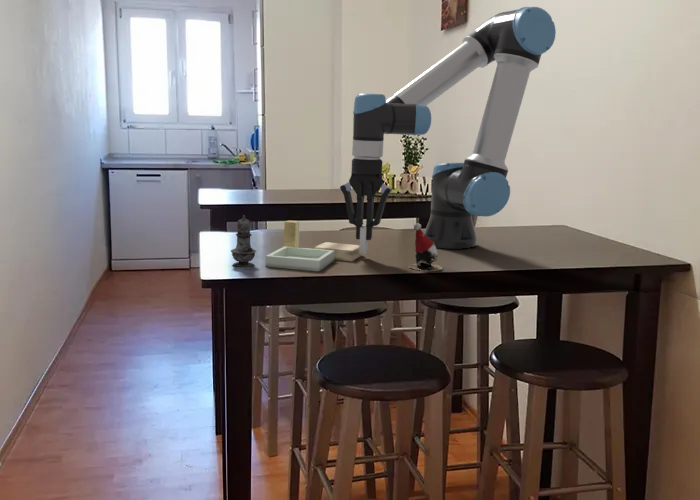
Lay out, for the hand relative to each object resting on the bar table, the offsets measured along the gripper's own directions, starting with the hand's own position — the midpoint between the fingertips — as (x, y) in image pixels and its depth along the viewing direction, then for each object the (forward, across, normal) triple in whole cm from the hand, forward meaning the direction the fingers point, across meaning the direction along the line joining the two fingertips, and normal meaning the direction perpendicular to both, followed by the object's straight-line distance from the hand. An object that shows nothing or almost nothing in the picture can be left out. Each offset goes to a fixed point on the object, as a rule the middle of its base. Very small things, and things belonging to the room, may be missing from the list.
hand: (363, 252), depth 178 cm
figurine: (+2, -16, +5) cm, 17 cm away
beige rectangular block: (+2, +6, 0) cm, 7 cm away
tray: (+2, +13, +12) cm, 17 cm away
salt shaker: (+2, +24, +19) cm, 31 cm away
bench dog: (+2, +19, 0) cm, 19 cm away
